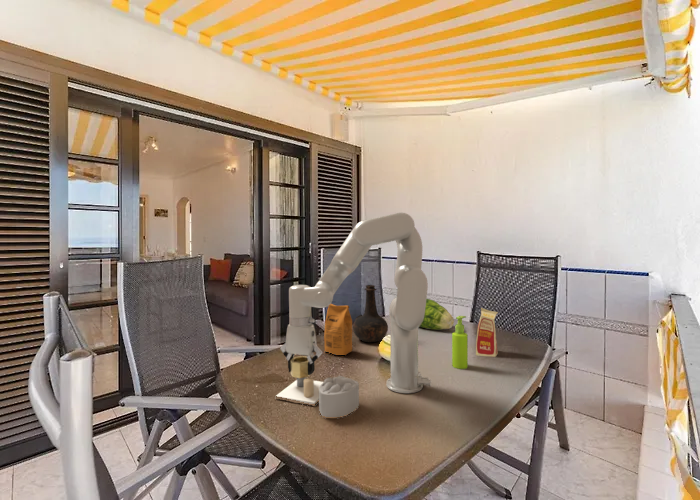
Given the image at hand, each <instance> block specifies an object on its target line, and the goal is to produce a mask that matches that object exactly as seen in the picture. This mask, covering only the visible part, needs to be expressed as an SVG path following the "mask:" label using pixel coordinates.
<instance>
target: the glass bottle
mask: <svg viewBox="0 0 700 500" xmlns="http://www.w3.org/2000/svg"><path fill="white" fill-rule="evenodd" d="M364 290H365V304H364V305H365V307H364V312H363V314H359V315H358V316H356V318H355V319H354V322H353V323H352V332H353V333H354V335H355V336H356V337H357V339H359V340H360V341H361V340H362V341H361V342H364V341H365V343H377V342H380V341H381V340H383V339H384V338H385V337H386V335H387V334H388V332H389V326H388V322H387V321H386V320H385V318H383V317H382V316H381V315H380V314H379V312H378V309H377V301H376V290H378V289H377V288H376V286H375V285H373V284H367V285H365V288H364ZM383 337H384V338H383Z"/></svg>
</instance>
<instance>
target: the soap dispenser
mask: <svg viewBox="0 0 700 500" xmlns="http://www.w3.org/2000/svg"><path fill="white" fill-rule="evenodd" d="M464 318H465V319H466V318H467V316H466V315H458V316H456V317H455V319H456V320H457V323H456V324H455V326H454V327H455V329H454V332H452V334H451V341H452V342H451V348H452V350H451V353H452V354H451V358H452V359H451V363H452V365H451V366H452V367H453V368H454V369H457V370H465V369H467V368H468V367H469V366H468V365H469V364H468V362H469V361H468V356H469V355H468V351H469V350H468V347H469V346H468V342H469V341H468V333H466V332H465V325H464V324H463V319H464Z"/></svg>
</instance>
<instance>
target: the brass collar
mask: <svg viewBox="0 0 700 500" xmlns="http://www.w3.org/2000/svg"><path fill="white" fill-rule="evenodd" d="M308 363H309V361H308V358H307V356H305V355H299V356H294V357H293V358H292V359H291V360H290V365H291V372H290V375H291V377H292V378H295V379H297V378H304V377H306V378H309V376H311V375H308Z"/></svg>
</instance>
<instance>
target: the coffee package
mask: <svg viewBox="0 0 700 500" xmlns="http://www.w3.org/2000/svg"><path fill="white" fill-rule="evenodd" d="M323 331H324V333H323V334H324V335H323V341H324V346H323V347H324V352H325V351H326V352H329V353H328V354H330V353H332V354H336V355H345V356H346V355H347V354H349V353H351V352H352V351H353V340H352V339H353V319H352V316H351V313H350V306H349V305H335V304H333V303H331V304H330V305H329V306H327V312H326V317H325V321H324V330H323ZM332 354H331V355H332Z"/></svg>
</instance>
